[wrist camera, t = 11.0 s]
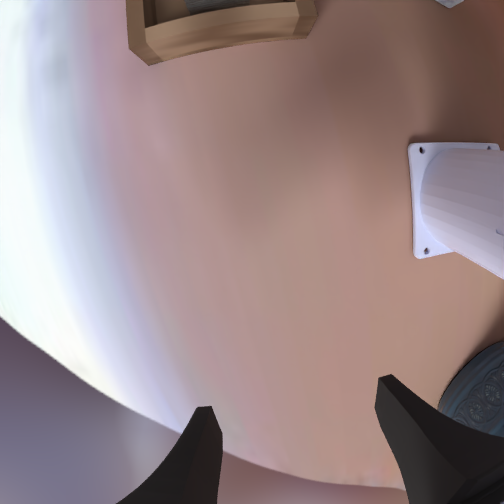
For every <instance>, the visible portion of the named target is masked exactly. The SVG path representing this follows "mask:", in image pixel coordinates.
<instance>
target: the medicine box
mask: <svg viewBox="0 0 504 504" xmlns="http://www.w3.org/2000/svg"><path fill="white" fill-rule="evenodd" d="M435 1H437V2H439V3H440V4H442V5H444V6H446V7H448V8H452V7H454V6H455V5H457V4H459V3H461V2H463V1H464V0H435Z"/></svg>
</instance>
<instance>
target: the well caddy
mask: <svg viewBox="0 0 504 504" xmlns="http://www.w3.org/2000/svg"><path fill="white" fill-rule="evenodd" d="M126 15H127V31H128V44H129V49H130V50H131V51H132V52H133V53H134V54H136V55H137V56H138V57H139V58H140V59H141V60H143V61H144V62H145V63H146V64H147V65H148V66H149V65H153V64H156V63H159V62H163V61H167V60H170V59H174V58H178V57H182V56H186V55H190V54H195V53H199V52H204V51H209V50H214V49H219V48H224V47H230V46H236V45H243V44H250V43H257V42H266V41H276V40H288V39H303V38H307V36H308V34H309V32H310V30H311V28H312V26H313V24H314V22H315V21H316V19H317V17H318V14H317V11H316V7H315V4H314V1H313V0H250V6H243V7H235V8H229V9H223V10H217V11H212V12H207V13H202V14H197V15H193V16H191V15H190V13H189V11H188V8H187V6H186V4H185V1H184V0H126Z"/></svg>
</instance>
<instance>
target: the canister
mask: <svg viewBox="0 0 504 504" xmlns="http://www.w3.org/2000/svg"><path fill="white" fill-rule="evenodd" d="M438 411H439V412H441V413H443V414H444V415H446V416H448V417H449V418H451V419H453V420H455V421H457V422H459V423H461V424H463V425H465V426H468V427H470V428H473V429H476V430H478V431H481V432H484V433H488V434H491V435H495V436H500V437H504V341H502V342H498V343H496V344H494V345H492V346H490V347H488V348H486V349H485V350H484V351H482V352H481V353H479V354H478V355H477V356H476V357H475V358H473V359H472V360H471V361H470V362H469V363H468V364H467V365H466V366H465V367H464V368H463V369H462V370H461V371H460V373H459V374H458V375H457V376H456V377H455V379H454V380H453V381H452V382H451V384H450V385H449V387H448V388H447V390H446V391H445V393H444V395H443V397H442V399H441V401H440V403H439V406H438Z"/></svg>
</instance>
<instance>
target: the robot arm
mask: <svg viewBox="0 0 504 504" xmlns="http://www.w3.org/2000/svg"><path fill="white" fill-rule="evenodd" d="M420 147H421V148H422V153H420V151H419V148H420ZM487 148H488V150H487ZM408 157H409V166H410V177H411V190H412V208H413V253H414V256H415V257H417V258H418V259H422V258H426V257H431V256H436V255H440V254H445V253H449V252H453V251H455V252H457V253H459V254H461V255H463V256H464V257H466V258H468V259H470V260H471V261H473V262H475V263H477V264H478V265H480V266H482V267H483V268H485V269H487V270H489V271H490V272H492V273H494V274H495V275H497V276H498V277H500V278H502V279H503V280H504V151H500V148H499V145H498V144H496V143H464V142H434V143H411V144H410V145H409V146H408ZM425 248H427V251H426V252H425V253H424V250H425ZM375 411H376V414H377V417H378V420H379V423H380V426H381V429H382V431H383V433H384V435H385V437H386V439H387V442H388V444H389V446H390V448H391V450H392V452H393V454H394V456H395V459H396V461H397V463H398V466H399V468H400V471H401V474H402V477H403V481H404V484H405V488H406V492H407V495H408V499H409V504H504V437H500V436H495V435H491V434H488V433H484V432H481V431H478V430H476V429H473V428H470V427H468V426H465V425H463V424H461V423H459V422H457V421H455V420H453V419H451V418H449V417H448V416H446V415H444V414H443V413H441V412H439V411H438V410H436V409H435V408H433V407H432V406H430V405H429V404H428V403H426V402H425V401H424V400H422V399H421V398H420V397H418V396H417V395H416V394H415V393H413V392H412V391H411V390H410V389H408V388H407V387H406V386H405V385H404V384H403V383H401V382H400V381H399V380H398V379H397V378H396V377H394V376H393V375H392V374H390V375H386V376H383V377H379V378H378V387H377V395H376V402H375ZM222 454H223V438H222V431H221V429H220V427H219V424H218V422H217V419H216V417H215V414H214V411H213V409H212V406H205V407H197V408H196V410H195V412H194V414H193V415H192V417H191V419H190V421H189V423H188V425H187V426H186V428H185V430H184V431H183V433H182V435H181V436H180V438H179V439H178V441H177V443H176V444H175V446H174V447H173V449H172V450H171V451H170V453H169V454H168V455H167V457H166V458H165V459H164V461H163V462H162V463H161V464H160V465H159V467H158V468H157V469H156V470H155V471H154V472H153V473H152V474H151V475H150V476H149V477H148V479H146V480H145V481H144V482H143V483H142V484H141V485H140V486H139V487H138V488H137V489H135V490H134V491H133V492H131V493H130V494H129V495H128V496H126V497H125V498H124V499H122V500H121V501H119V502H118V503H116V504H217V495H218V486H219V479H220V471H221V463H222Z"/></svg>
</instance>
